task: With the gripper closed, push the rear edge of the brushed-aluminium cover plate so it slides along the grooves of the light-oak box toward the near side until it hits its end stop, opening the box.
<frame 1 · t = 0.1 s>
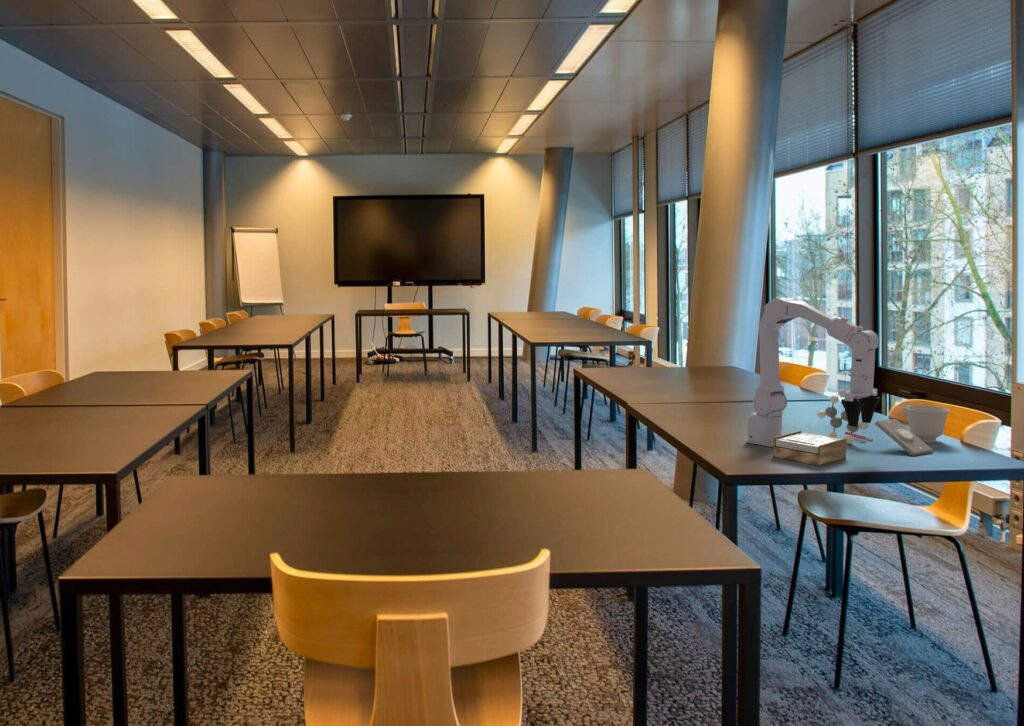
hand: (859, 424, 213), 10 cm above the table, fingers open, 7 cm apart
light switch: (902, 450, 227), on the table
molecule model: (849, 440, 241), on the table
teacup: (921, 440, 240), on the table
oak box: (809, 457, 218), on the table
cover plate: (809, 442, 217), point 4 cm above the table, slide at 0.0 cm
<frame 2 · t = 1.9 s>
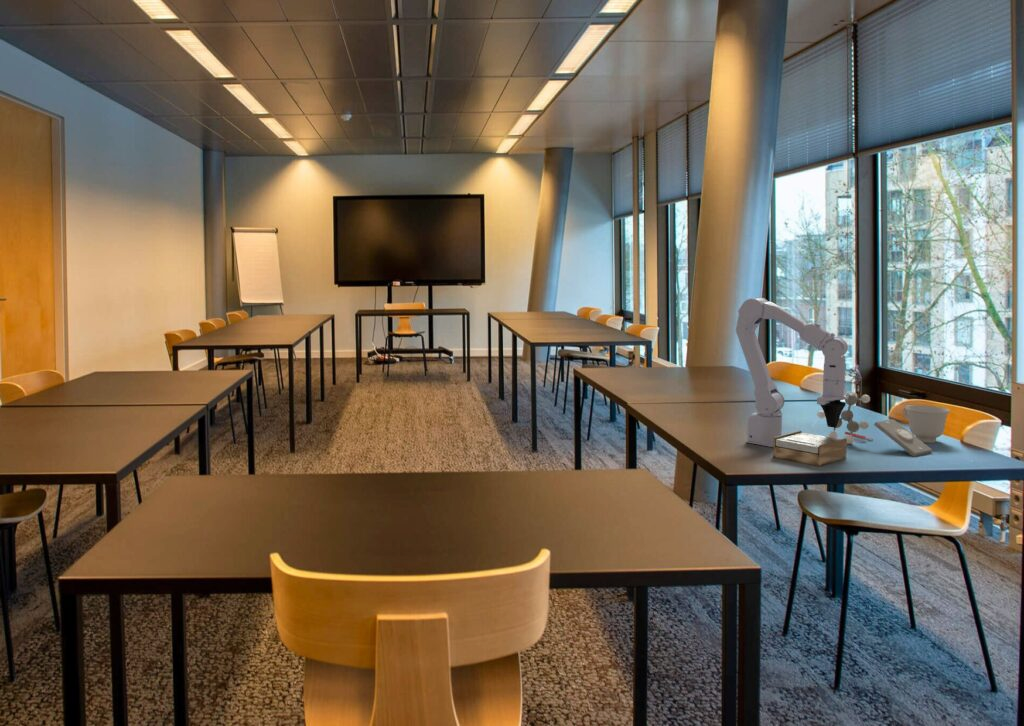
hand: (832, 426, 225), 7 cm above the table, fingers closed
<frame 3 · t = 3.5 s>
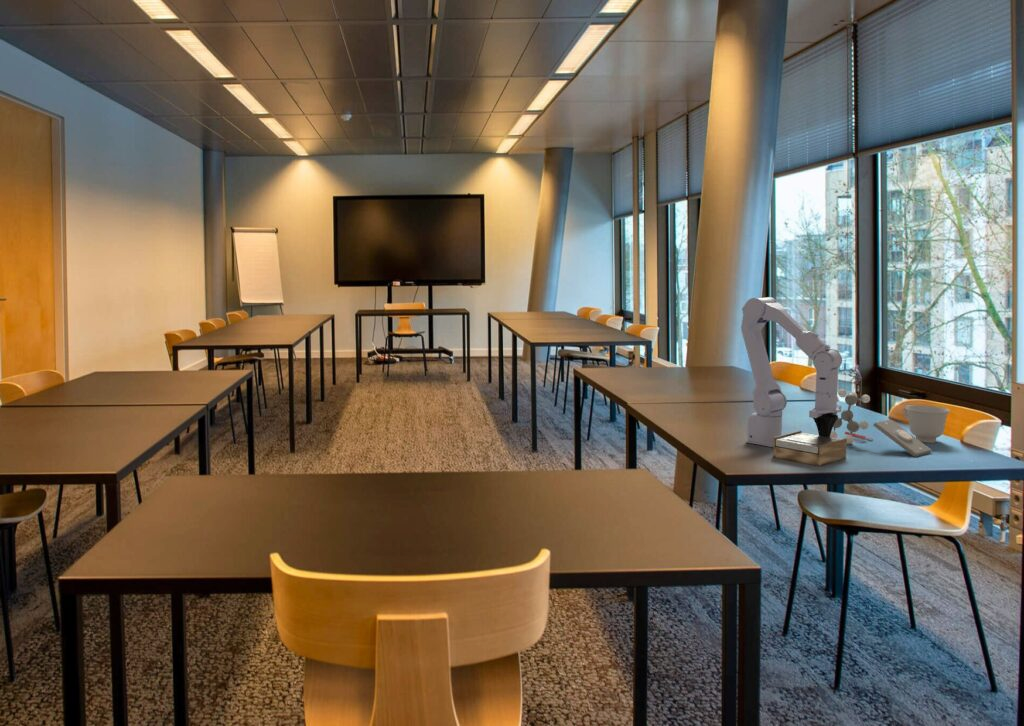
hand: (824, 439, 222), 4 cm above the table, fingers closed
cover plate: (809, 442, 217), point 4 cm above the table, slide at 0.0 cm, touching gripper
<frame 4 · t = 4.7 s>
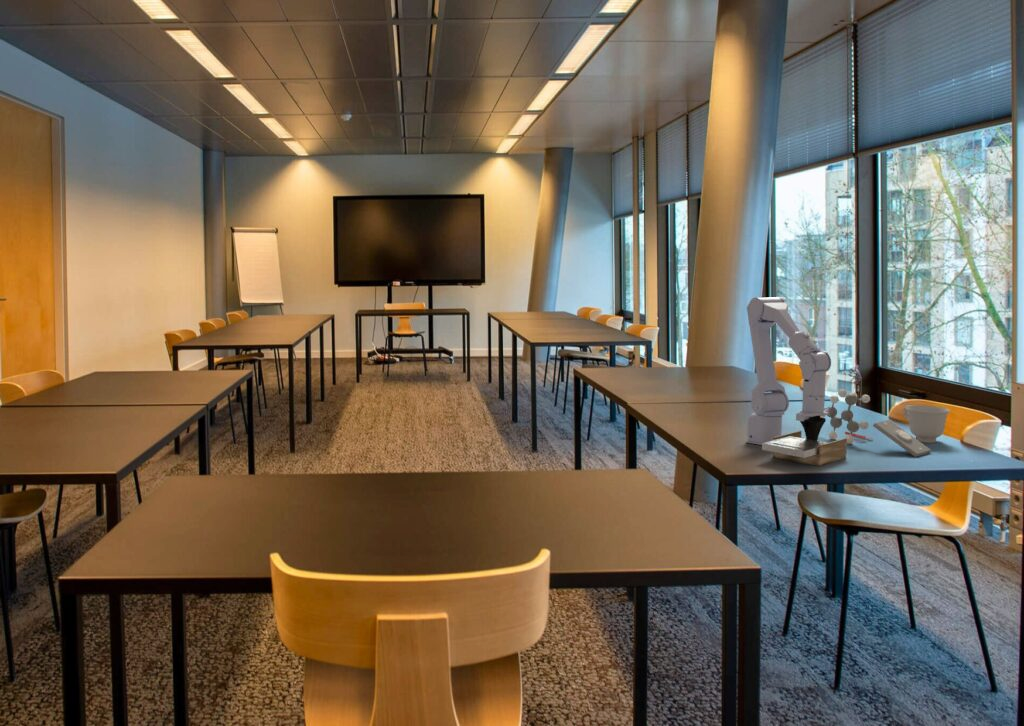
hand: (811, 443, 218), 4 cm above the table, fingers closed
cover plate: (796, 446, 213), point 4 cm above the table, slide at 7.0 cm, touching gripper
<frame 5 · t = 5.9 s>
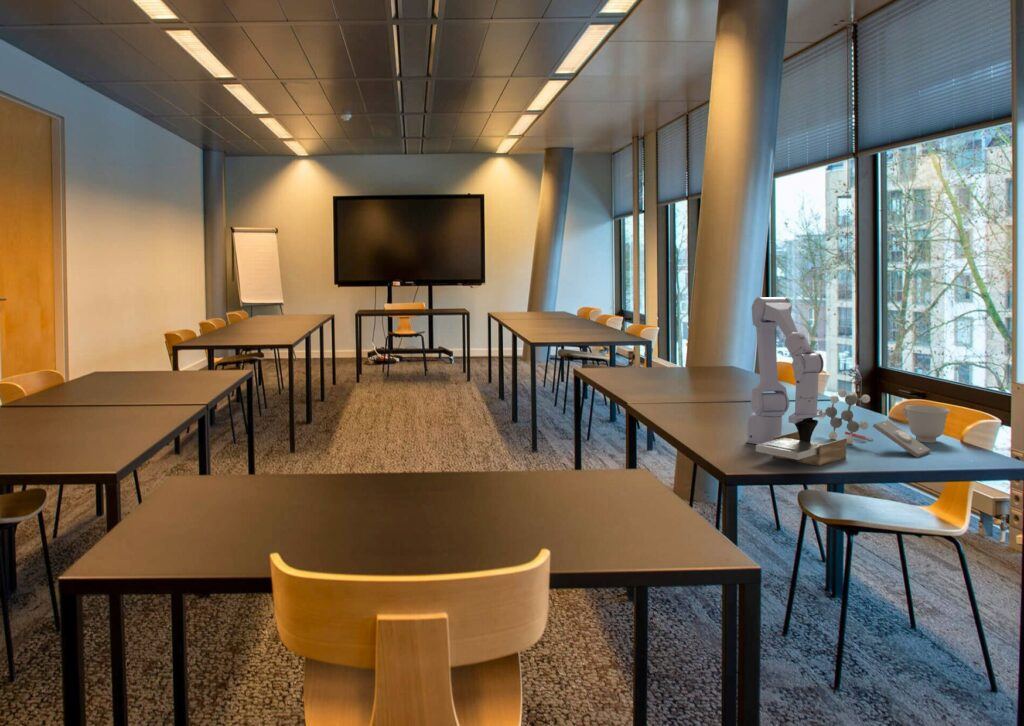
hand: (804, 445, 216), 4 cm above the table, fingers closed, pressing on cover plate
cover plate: (790, 447, 211), point 4 cm above the table, slide at 10.0 cm, touching gripper
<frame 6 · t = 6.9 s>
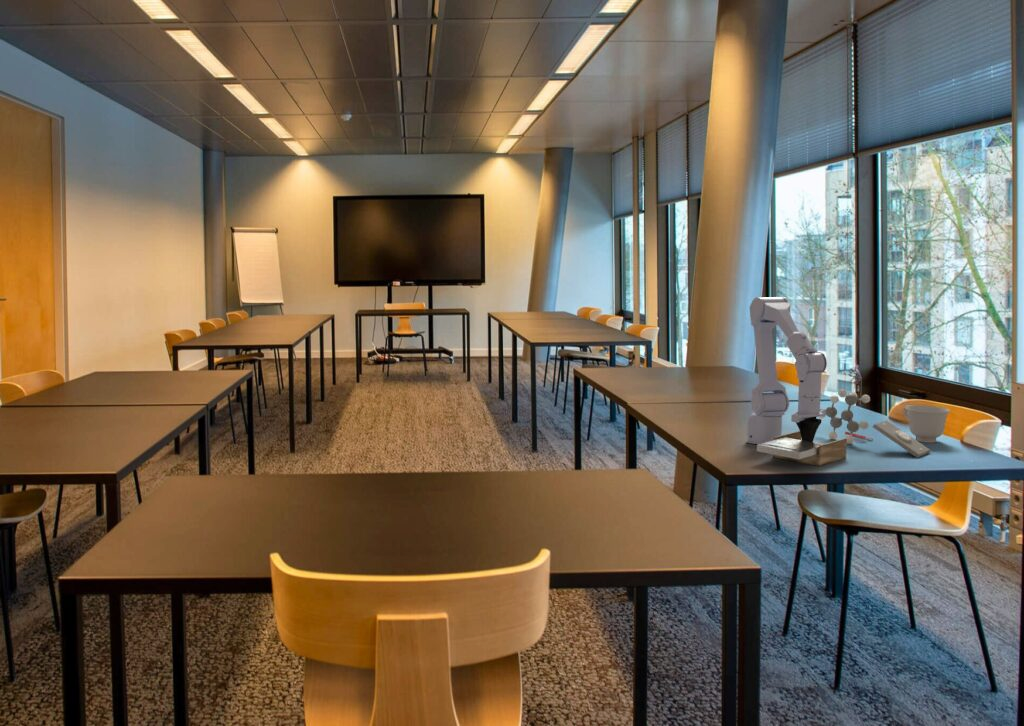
hand: (807, 444, 217), 4 cm above the table, fingers closed
cover plate: (791, 447, 211), point 4 cm above the table, slide at 9.5 cm
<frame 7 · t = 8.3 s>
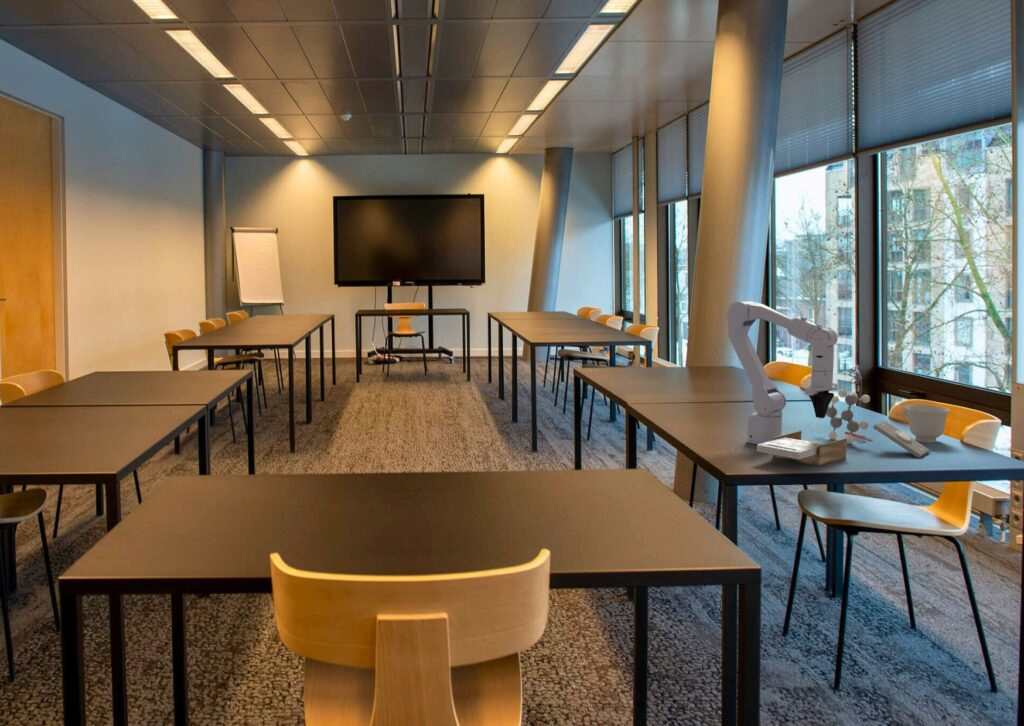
hand: (820, 417, 224), 10 cm above the table, fingers closed
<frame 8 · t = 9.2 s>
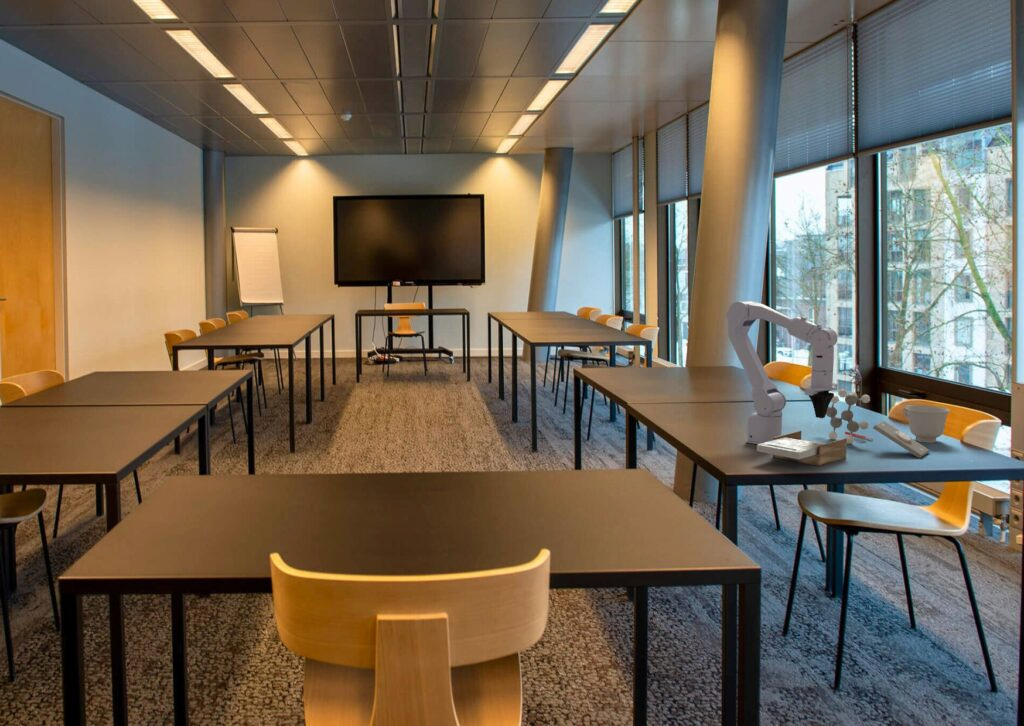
hand: (820, 417, 224), 10 cm above the table, fingers closed
at the end: cover plate slide at 9.5 cm; cover plate touching nothing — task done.
